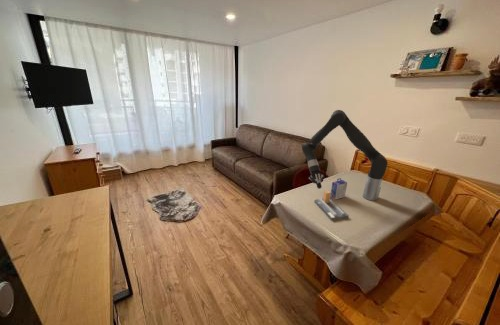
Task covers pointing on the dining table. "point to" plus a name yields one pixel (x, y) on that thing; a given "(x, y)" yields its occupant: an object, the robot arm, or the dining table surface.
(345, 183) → the ink cartridge box
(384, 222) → the dining table surface
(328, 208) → the switch panel
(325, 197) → the switch tab
